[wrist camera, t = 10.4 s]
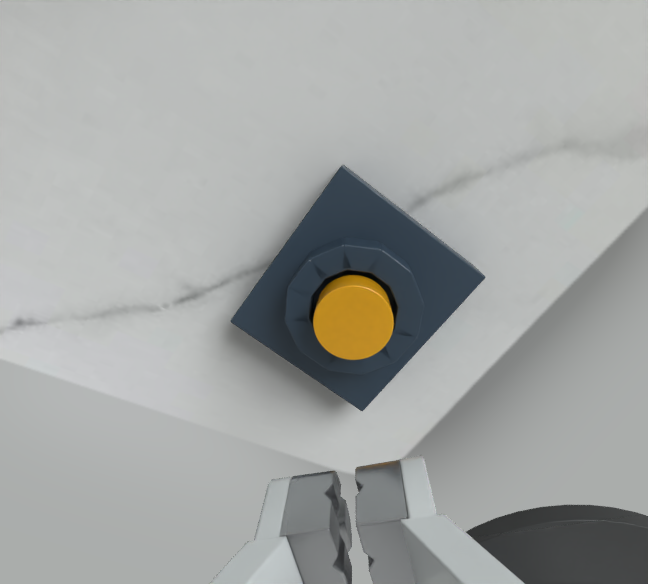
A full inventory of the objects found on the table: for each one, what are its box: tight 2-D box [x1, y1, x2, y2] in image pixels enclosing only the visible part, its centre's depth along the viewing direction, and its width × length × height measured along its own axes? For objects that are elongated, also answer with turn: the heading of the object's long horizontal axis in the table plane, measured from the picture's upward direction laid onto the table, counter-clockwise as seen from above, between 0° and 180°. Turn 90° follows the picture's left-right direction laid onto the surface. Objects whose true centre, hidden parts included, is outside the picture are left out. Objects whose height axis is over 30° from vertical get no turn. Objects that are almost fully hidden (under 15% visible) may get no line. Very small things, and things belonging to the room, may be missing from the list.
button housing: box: [231, 165, 485, 411], centre depth 22 cm, size 10×9×4 cm
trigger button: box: [313, 275, 394, 360], centre depth 20 cm, size 4×4×2 cm
